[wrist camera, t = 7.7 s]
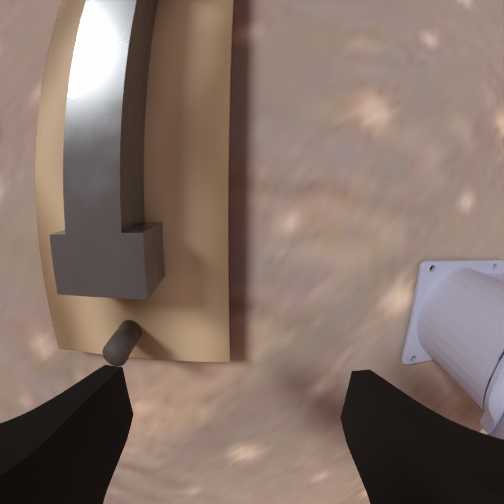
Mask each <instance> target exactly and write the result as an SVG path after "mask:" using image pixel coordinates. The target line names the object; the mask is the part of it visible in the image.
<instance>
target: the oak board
mask: <svg viewBox="0 0 504 504" xmlns="http://www.w3.org/2000/svg"><path fill="white" fill-rule="evenodd" d="M85 2H86V0H62V1H61V4H60V7H59V10H58V14H57V17H56V21H55V25H54V28H53V32H52V36H51V41H50V45H49V49H48V54H47V59H46V64H45V70H44V76H43V82H42V89H41V96H40V104H39V114H38V125H37V139H36V210H37V225H38V236H39V246H40V255H41V262H42V269H43V276H44V282H45V288H46V293H47V299H48V304H49V309H50V313H51V318H52V322H53V327H54V331H55V335H56V339H57V343H58V346H59V348H60V349H66V350H73V351H80V352H87V353H94V354H103V356H104V358H105V360H106V361H107V362H108V363H110V364H111V365H114V366H122V365H124V364H125V362H126V361H127V359H128V357H131V358H143V359H156V360H172V361H194V362H230V298H229V154H230V100H231V64H232V35H233V11H234V0H158V3H157V9H156V15H155V22H154V29H153V36H152V44H151V53H150V62H149V72H148V84H147V97H146V113H145V136H144V215H145V222H162V225H163V250H164V268H165V277H164V278H163V280H162V281H161V283H160V284H159V285H158V287H157V288H156V289H155V291H154V292H153V293H152V295H151V296H150V297H149V299H124V298H104V297H87V296H71V295H58V294H57V288H56V282H55V276H54V269H53V262H52V254H51V245H50V234H53V233H56V232H59V231H62V230H65V220H64V200H63V147H64V127H65V114H66V104H67V95H68V86H69V79H70V72H71V66H72V60H73V54H74V49H75V44H76V39H77V34H78V30H79V25H80V21H81V17H82V13H83V10H84V6H85Z"/></svg>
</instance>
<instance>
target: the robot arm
mask: <svg viewBox="0 0 504 504" xmlns="http://www.w3.org/2000/svg"><path fill="white" fill-rule="evenodd" d="M431 266H433V268H432V270H431V271H430V267H431ZM493 266H494V267H493ZM413 356H414V357H413ZM412 357H413V358H412ZM411 358H412V359H411ZM430 360H435V361H436V362H437V363H438V364H439V365H440V366H441V367H442V368H443V369H444V370H445V371H446V372H447V373H448V374H449V375H450V376H451V377H452V378H453V379H454V380H455V382H456V383H457V384H458V385H459V386H460V387H461V388H462V389H463V390H464V391H465V392H466V393H467V394H468V395H469V396H470V397H471V398H472V399H473V400H474V401H475V403H476V404H477V405H478V406H479V407H480V408H481V409H482V410H483V411H484V414H483V416H482V418H481V420H480V422H479V424H480V425H481V426H482V427H483V428H484V430H485V431H486V432H487V433H488V434H487V435H486V434H482V433H480V432H477V431H474V430H471V429H469V428H466V427H464V426H462V425H460V424H457V423H455V422H453V421H451V420H449V419H447V418H445V417H443V416H441V415H439V414H437V413H436V412H434V411H432V410H430V409H428V408H427V407H425V406H424V405H422V404H420V403H419V402H417V401H416V400H414V399H412V398H411V397H409V396H408V395H406V394H405V393H403V392H402V391H400V390H399V389H398V388H396V387H395V386H393V385H392V384H390V383H389V382H387V381H386V380H385V379H383V378H382V377H380V376H379V375H377V374H376V373H374V372H372V371H371V370H360V371H352V373H351V378H350V382H349V386H348V390H347V394H346V399H345V402H344V406H343V410H342V414H341V421H342V426H343V430H344V434H345V438H346V442H347V445H348V447H349V450H350V452H351V455H352V457H353V460H354V462H355V465H356V467H357V470H358V472H359V474H360V477H361V479H362V482H363V484H364V487H365V489H366V492H367V494H368V497H369V500H370V504H504V261H503V260H501V259H496V260H438V261H423V262H422V263H421V264H420V266H419V271H418V277H417V284H416V290H415V296H414V301H413V307H412V312H411V317H410V322H409V326H408V331H407V335H406V340H405V344H404V348H403V352H402V356H401V362H402V363H403V364H404V365H408V364H414V363H419V362H425V361H430ZM132 417H133V411H132V407H131V403H130V399H129V395H128V391H127V386H126V382H125V377H124V372H123V368H122V367H116V366H109V365H105V366H103V367H101V368H99V369H98V370H96V371H95V372H93V373H92V374H90V375H89V376H87V377H86V378H84V379H83V380H81V381H80V382H78V383H76V384H75V385H73V386H72V387H70V388H69V389H67V390H66V391H64V392H63V393H61V394H59V395H58V396H56V397H54V398H53V399H51V400H49V401H47V402H46V403H44V404H42V405H40V406H39V407H37V408H35V409H33V410H31V411H29V412H27V413H25V414H23V415H21V416H18V417H16V418H14V419H11V420H9V421H6V422H3V423H0V504H103V501H104V497H105V494H106V491H107V488H108V486H109V483H110V481H111V478H112V476H113V473H114V471H115V468H116V466H117V463H118V461H119V458H120V456H121V453H122V451H123V448H124V446H125V443H126V441H127V438H128V434H129V430H130V426H131V422H132Z"/></svg>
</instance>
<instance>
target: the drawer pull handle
mask: <svg viewBox="0 0 504 504" xmlns="http://www.w3.org/2000/svg"><path fill="white" fill-rule="evenodd" d="M157 3H158V0H86V2H85V6H84V10H83V13H82V17H81V21H80V25H79V30H78V34H77V39H76V44H75V49H74V54H73V60H72V66H71V72H70V79H69V86H68V95H67V104H66V114H65V127H64V147H63V200H64V220H65V230H62V231H59V232H56V233H53V234H50V245H51V254H52V262H53V269H54V276H55V282H56V288H57V294H58V295H71V296H87V297H104V298H124V299H149V297H150V296H151V295H152V293H153V292H154V291H155V289H156V288H157V287H158V285H159V284H160V283H161V281H162V280H163V278H164V277H165V268H164V250H163V225H162V222H145V215H144V136H145V113H146V97H147V84H148V72H149V62H150V53H151V44H152V36H153V29H154V22H155V15H156V9H157Z"/></svg>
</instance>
